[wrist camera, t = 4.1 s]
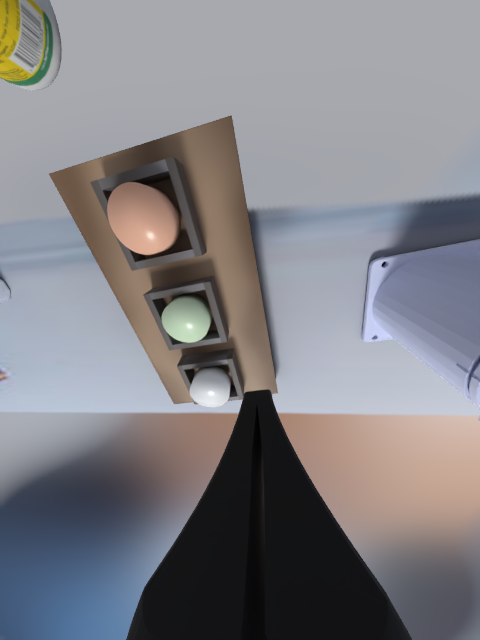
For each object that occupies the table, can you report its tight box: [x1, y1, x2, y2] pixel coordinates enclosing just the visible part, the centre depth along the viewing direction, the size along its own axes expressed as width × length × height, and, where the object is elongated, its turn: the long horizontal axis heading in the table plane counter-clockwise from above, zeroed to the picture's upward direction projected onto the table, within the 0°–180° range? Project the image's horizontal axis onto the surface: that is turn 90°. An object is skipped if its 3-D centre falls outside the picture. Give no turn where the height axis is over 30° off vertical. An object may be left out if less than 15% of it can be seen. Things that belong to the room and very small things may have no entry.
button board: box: [49, 116, 278, 404], centre depth 16 cm, size 12×22×4 cm, turn 12°
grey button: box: [190, 366, 231, 407], centre depth 18 cm, size 4×4×2 cm
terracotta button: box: [107, 182, 181, 255], centre depth 11 cm, size 4×4×2 cm
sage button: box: [162, 293, 213, 343], centre depth 15 cm, size 4×4×2 cm
